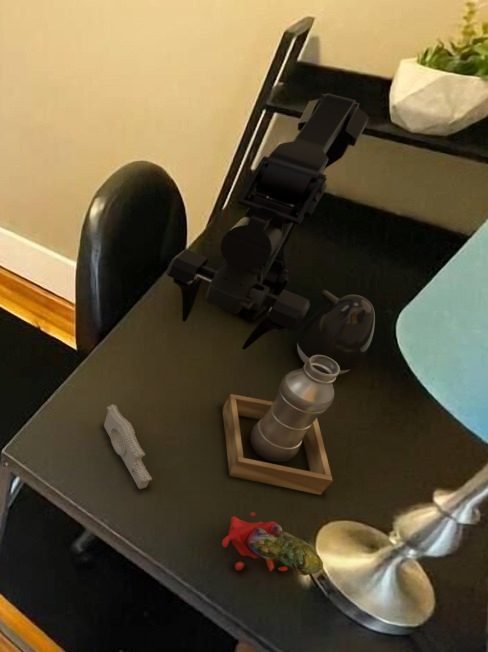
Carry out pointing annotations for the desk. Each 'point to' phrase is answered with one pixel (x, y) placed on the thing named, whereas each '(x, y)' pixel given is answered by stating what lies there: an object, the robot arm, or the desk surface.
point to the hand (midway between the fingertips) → (213, 334)
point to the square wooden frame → (269, 472)
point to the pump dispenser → (339, 331)
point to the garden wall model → (126, 445)
